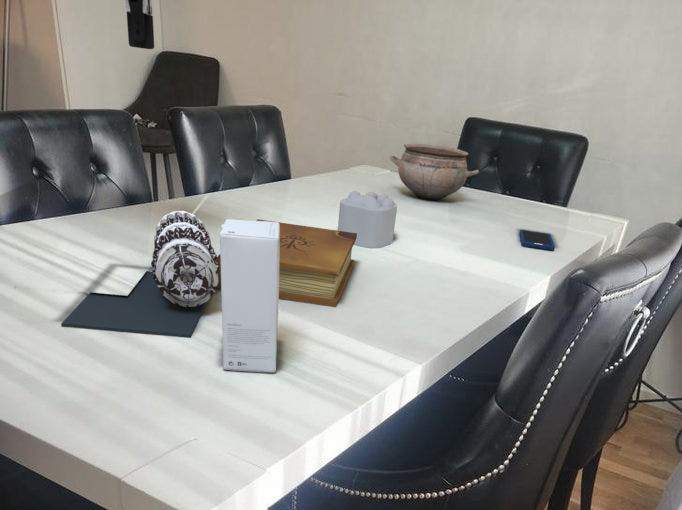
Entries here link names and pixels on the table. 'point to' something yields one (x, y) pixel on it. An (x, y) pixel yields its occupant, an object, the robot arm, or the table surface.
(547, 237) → the cell phone
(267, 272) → the cosmetic box
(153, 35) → the robot arm
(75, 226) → the table surface
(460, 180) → the cooking pot
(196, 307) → the mat
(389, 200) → the lumpy-topped squat cylinder
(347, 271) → the diary
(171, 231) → the decorative tower
